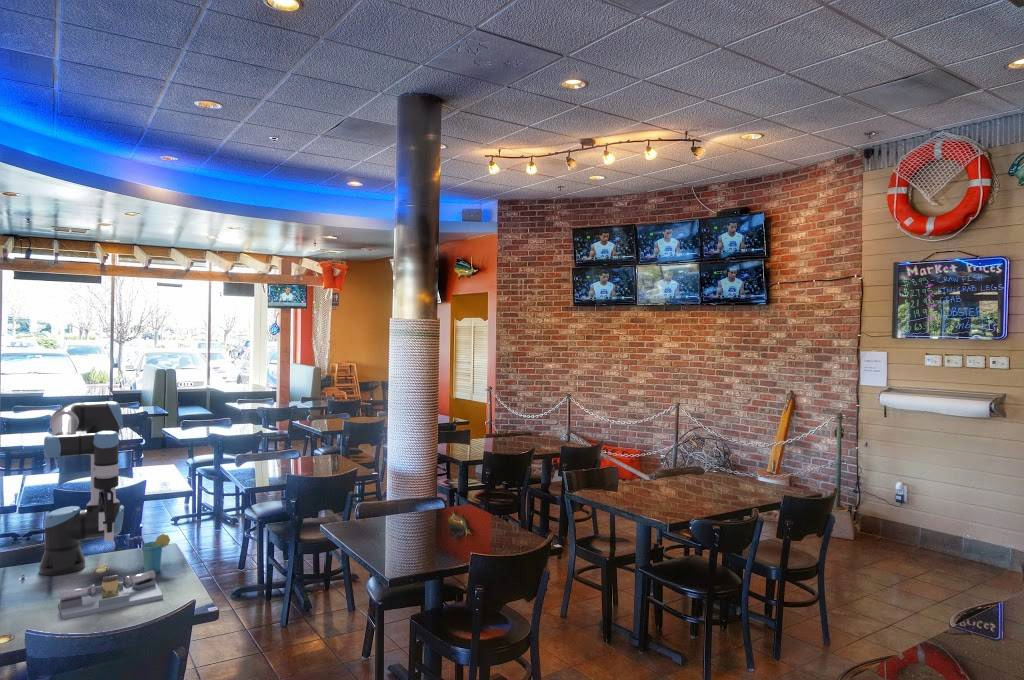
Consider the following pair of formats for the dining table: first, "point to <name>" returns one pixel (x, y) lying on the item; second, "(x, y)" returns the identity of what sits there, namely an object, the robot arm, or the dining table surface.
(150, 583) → the shaft
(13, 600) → the dining table surface
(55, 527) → the robot arm
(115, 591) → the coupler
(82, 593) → the shaft
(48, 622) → the dining table surface
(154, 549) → the cup
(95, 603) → the bench
